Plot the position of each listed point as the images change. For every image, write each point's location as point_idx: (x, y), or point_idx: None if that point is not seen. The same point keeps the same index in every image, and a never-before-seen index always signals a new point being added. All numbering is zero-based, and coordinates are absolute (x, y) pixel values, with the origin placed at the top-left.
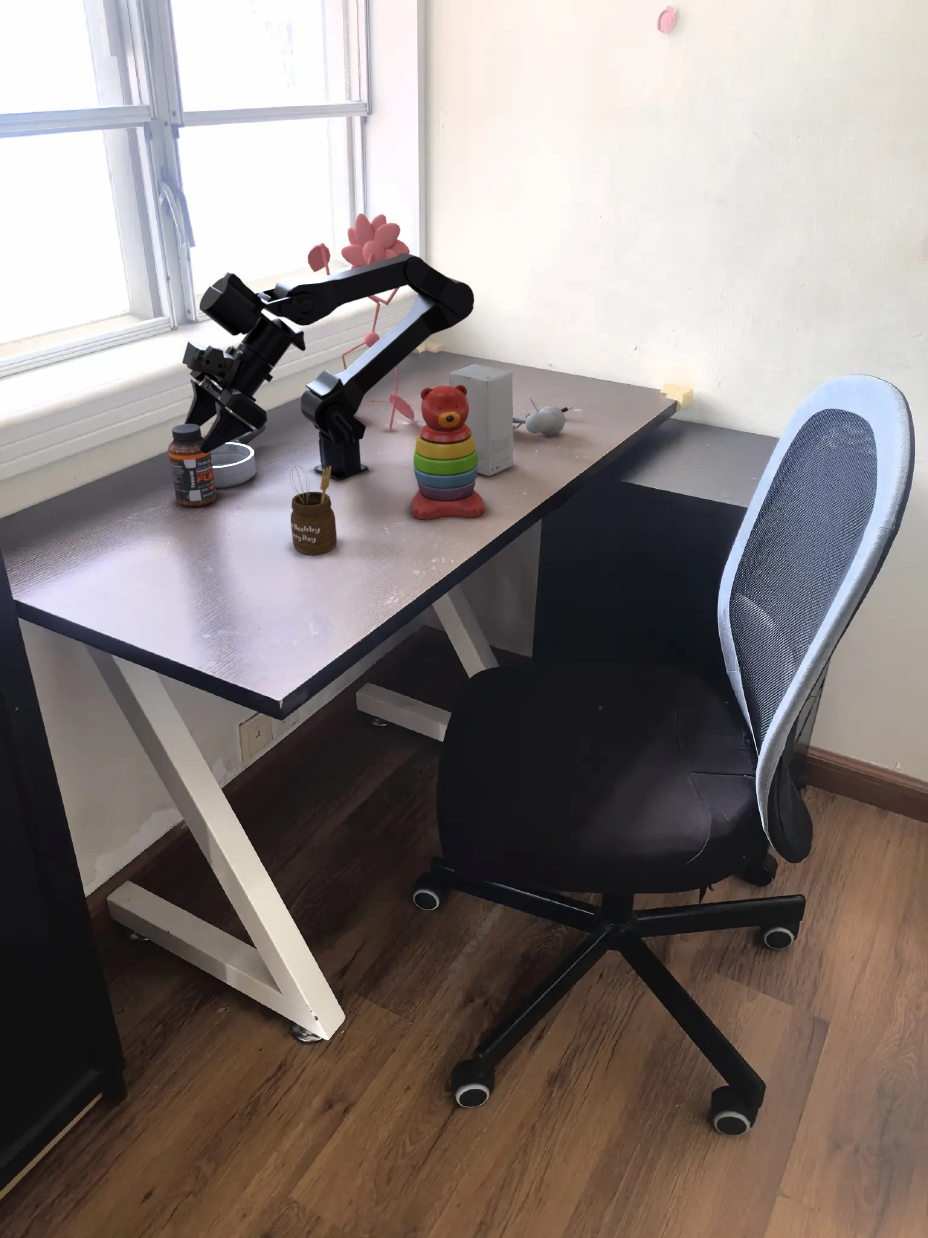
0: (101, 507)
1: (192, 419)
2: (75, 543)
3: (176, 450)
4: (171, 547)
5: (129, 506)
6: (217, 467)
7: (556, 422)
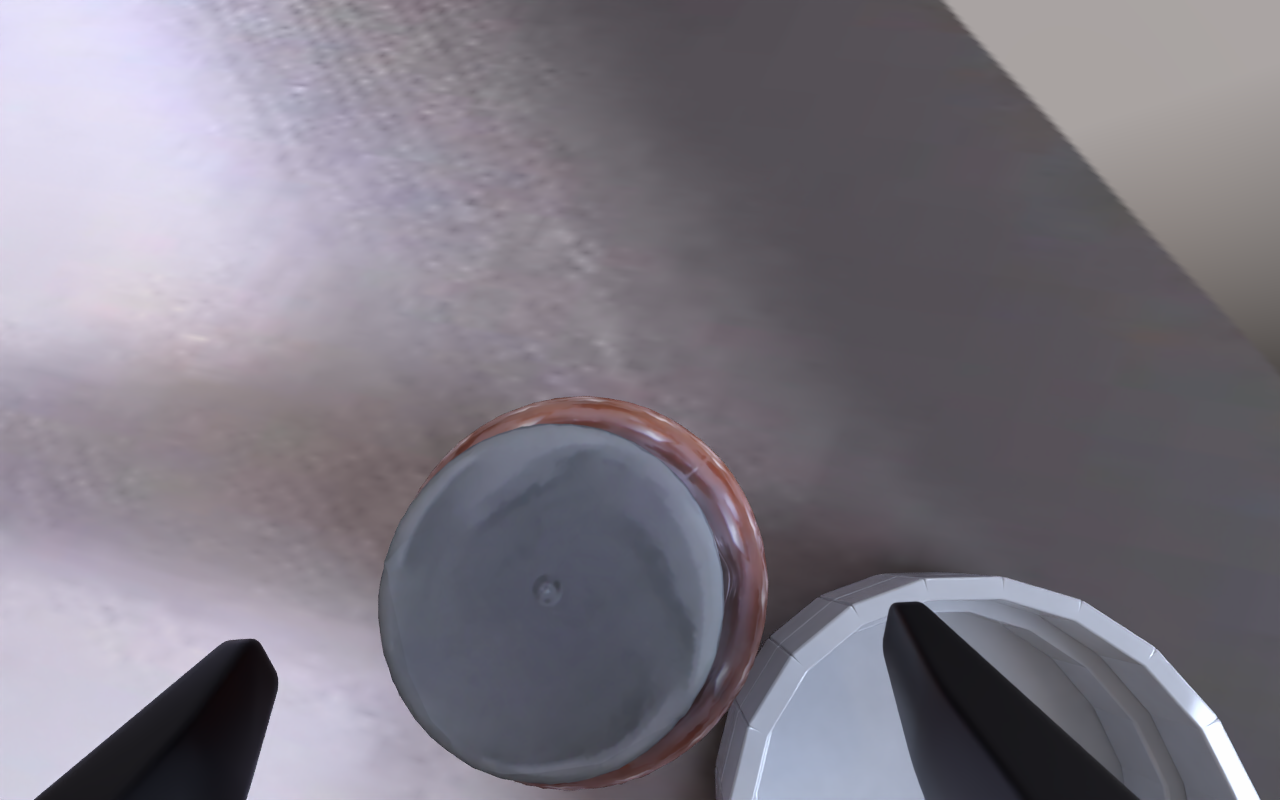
0: (737, 139)
1: (965, 770)
2: (409, 17)
3: (464, 443)
4: (147, 340)
5: (692, 249)
6: (736, 776)
7: None
